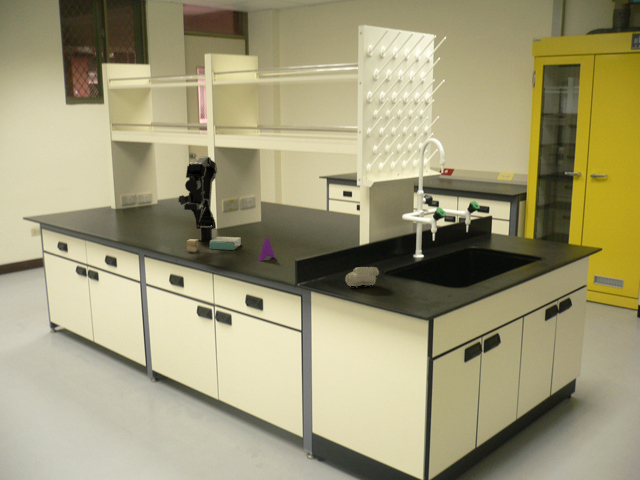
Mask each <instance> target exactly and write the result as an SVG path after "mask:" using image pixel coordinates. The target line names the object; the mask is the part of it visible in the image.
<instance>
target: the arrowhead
mask: <svg viewBox="0 0 640 480" xmlns="http://www.w3.org/2000/svg"><path fill="white" fill-rule="evenodd" d="M267 257H270V258H273V259H276V256H275V253H274V250H273V247H272V245H271V242H270V239H269V238H268V237H265V238H264V241H263V244H262V248H261V251H260V255H259V257H258V262H263V261H264V260H265V259H266V258H267Z"/></svg>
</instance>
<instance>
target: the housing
mask: <svg viewBox="0 0 640 480" xmlns="http://www.w3.org/2000/svg"><path fill="white" fill-rule="evenodd" d="M241 239H242V237H233V236H216V237H214V239H212V240H210V241H209V243H210V242H233V243H234V250H236V249H237V248H238V247H240V246H241V242H242V240H241Z"/></svg>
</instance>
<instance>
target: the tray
mask: <svg viewBox="0 0 640 480" xmlns="http://www.w3.org/2000/svg"><path fill="white" fill-rule="evenodd" d="M209 249H210V250H227V251H228V250H229V251H233V250H234V251H235V249H234V243H233V242H232V243H227V242H210V241H209Z"/></svg>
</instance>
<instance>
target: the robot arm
mask: <svg viewBox="0 0 640 480" xmlns="http://www.w3.org/2000/svg"><path fill="white" fill-rule="evenodd" d="M217 174H218V167H217V163H216V162H215V161H214V160H212V159H211V157H210V156H200V157H199V159H197V160H196V161H193V162H192V161H191V162H189V163H188V165H187V166H186V174H185V178H186V179H188V180H187V181H186V182H185V184H184V186H185V189H186V190H187V191H188V195H186V196H185V195H183V194H182V195H179V197H178V201H177V202H178V203H180V205H181V206H182V205H183V207H184V208H183V209H184V210H185V211H192V213H193V216H194V219H195V225H196V229H197V230H198V229H199V230H200V234H199V235H200V238H199V239H198V242H210V240H212V239H214V238H215V237H214V238H213V230H214V229H215V230H216V227H217V226H216V220H215V217H214V214H213V212H212V211H211V204H212V187H213V181H215V179H216V177H217Z"/></svg>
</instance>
